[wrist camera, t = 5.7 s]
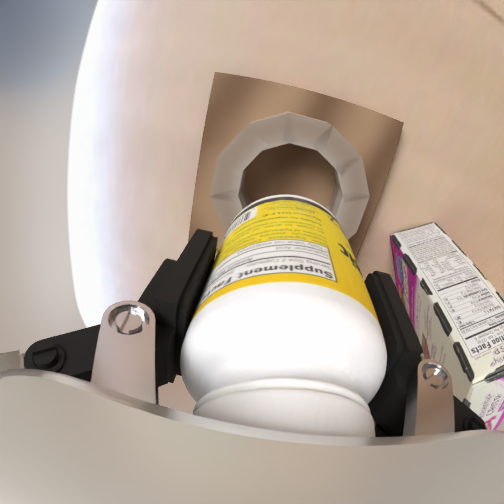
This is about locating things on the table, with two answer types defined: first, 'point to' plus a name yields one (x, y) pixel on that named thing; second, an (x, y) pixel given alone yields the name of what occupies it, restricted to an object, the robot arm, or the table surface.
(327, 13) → the table surface
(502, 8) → the table surface
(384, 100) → the table surface
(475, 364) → the candy bar box
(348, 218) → the hub block
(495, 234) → the table surface
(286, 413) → the supplement bottle
